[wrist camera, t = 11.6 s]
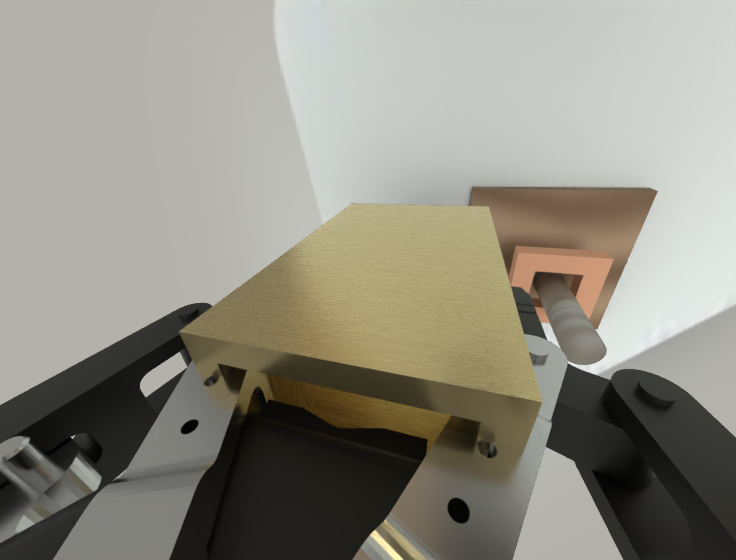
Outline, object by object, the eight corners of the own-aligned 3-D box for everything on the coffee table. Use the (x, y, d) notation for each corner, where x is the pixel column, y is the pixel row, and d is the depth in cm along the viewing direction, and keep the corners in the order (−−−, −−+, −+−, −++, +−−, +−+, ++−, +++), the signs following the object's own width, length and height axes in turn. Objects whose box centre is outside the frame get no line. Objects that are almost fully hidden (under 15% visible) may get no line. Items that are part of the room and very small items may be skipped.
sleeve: (352, 203, 12) (178, 331, 5) (488, 206, 11) (542, 401, 3) (360, 308, 15) (256, 494, 8) (470, 322, 14) (477, 575, 6)
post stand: (472, 186, 27) (478, 236, 16) (649, 188, 23) (831, 254, 12) (457, 306, 34) (453, 402, 22) (592, 322, 30) (673, 448, 19)
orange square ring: (515, 245, 24) (518, 252, 22) (605, 251, 22) (614, 259, 21) (501, 308, 27) (503, 317, 26) (579, 317, 25) (585, 327, 24)
